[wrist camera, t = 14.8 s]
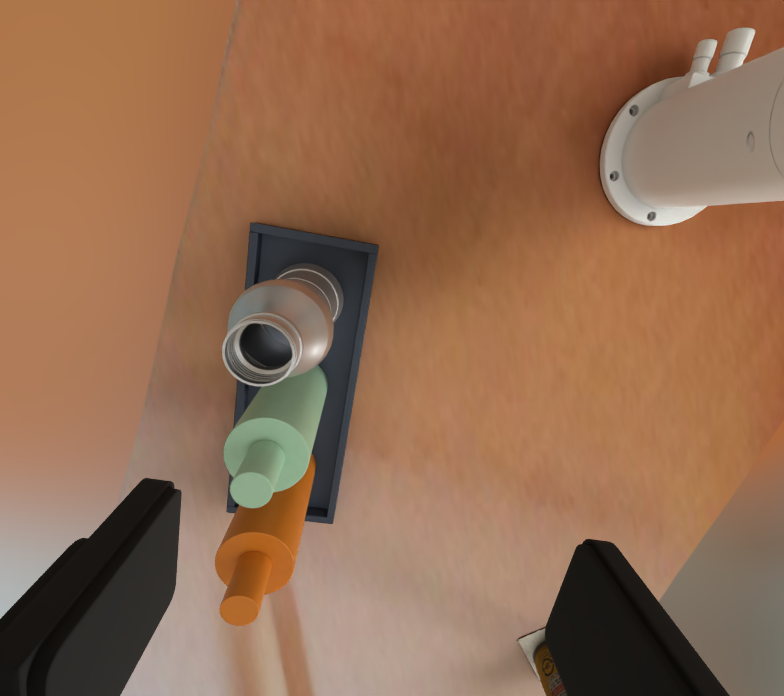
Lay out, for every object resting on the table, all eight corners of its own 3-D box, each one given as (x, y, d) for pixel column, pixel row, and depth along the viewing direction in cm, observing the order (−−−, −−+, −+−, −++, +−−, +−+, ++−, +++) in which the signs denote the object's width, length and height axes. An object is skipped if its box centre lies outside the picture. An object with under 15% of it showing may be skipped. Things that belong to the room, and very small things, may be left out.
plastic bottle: (271, 262, 39) (179, 293, 20) (343, 259, 39) (320, 288, 20) (278, 328, 41) (200, 415, 22) (347, 325, 41) (329, 409, 22)
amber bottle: (263, 437, 44) (195, 571, 27) (319, 444, 45) (288, 580, 27) (258, 485, 46) (191, 641, 28) (312, 491, 46) (279, 648, 29)
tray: (256, 222, 39) (250, 222, 36) (378, 244, 40) (379, 245, 38) (232, 500, 47) (226, 512, 45) (334, 512, 48) (332, 524, 46)
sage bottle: (272, 353, 41) (203, 441, 24) (331, 362, 42) (305, 454, 25) (266, 407, 43) (198, 526, 26) (323, 415, 44) (294, 536, 26)
